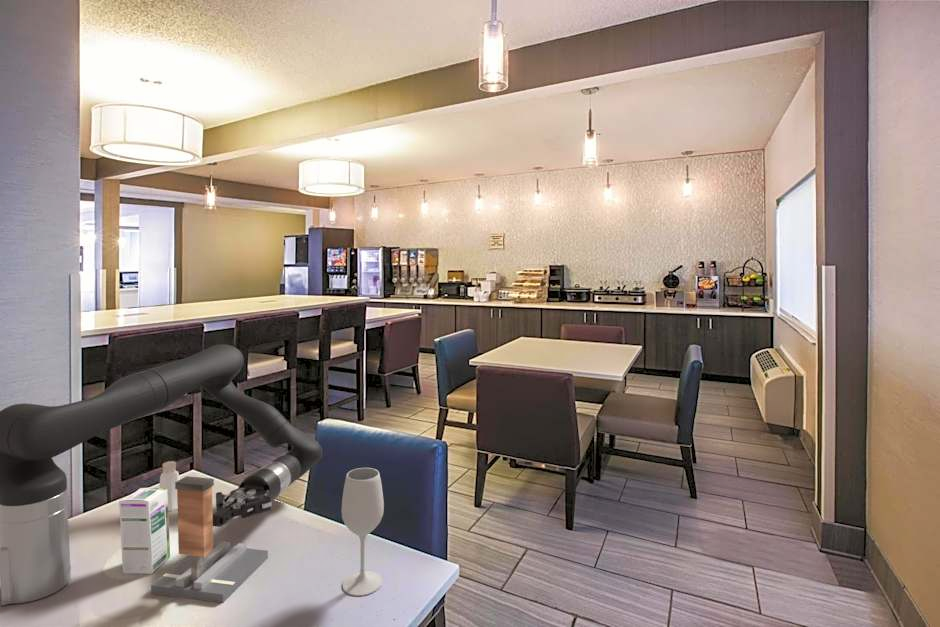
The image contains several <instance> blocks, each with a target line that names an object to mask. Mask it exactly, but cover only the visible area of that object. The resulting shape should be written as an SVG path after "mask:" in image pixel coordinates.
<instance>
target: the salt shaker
mask: <svg viewBox="0 0 940 627" xmlns="http://www.w3.org/2000/svg"><path fill="white" fill-rule="evenodd" d="M176 465H177V462H176V461H175V460H170V461H165V462H163V463H162V472H161V474H160V477H159V487H158V488H164V489H167V495H168V512H172V511H175V510H178V503H177V489H175V482H177V481H179V480H181V479H180V474H179V473H180V472H179V471H178V470H176V468H177V466H176Z"/></svg>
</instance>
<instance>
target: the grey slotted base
mask: <svg viewBox="0 0 940 627" xmlns="http://www.w3.org/2000/svg"><path fill="white" fill-rule="evenodd" d="M268 558H269V551H268V550H265V549H257V548H256V549H255V548H248V547H247V543H240V542H239V543H237V544H236V545H235V546H231V542H230V541H222V542H220V543H219V544H213V550H212V551H211V552H210V553H209V554H207V555H206V556H205V557H202V575H201V576H200V577H199V578H198V579H197V580H196V581H191V555H187V557H185V558H184V559H183V560H182V561H180V562H179V563H177V565H175V566H174V567H173V568H171V569H170V570H169V571H168V572H166V573H164V574H163V575H162V576H161V577H160V578H158V579H157V580H156V581H155V582H153V583H152V584H151V586H150V590H151V592H150V593H151V594H152V595H153V594H155V595H160V596H161V595H162V596H168V597H169V596H170V597H176V598H177V597H178V598H183V599H184V598H185V599H192V600H199V601H200V600H201V601H207V602H214V603H215V602H216V603H222V604H223V603H225V602H226V601H227V599H228V598H230V596H232V594H233V593H235V592H236V590H238V589H239V588H240V586H241V585H243V583H245V581H247V579H248V578H249V577H250V576H251V575H253V573H255V572H256V570H258V568H260V567H261V566H262V565H263V563H264V562H266V560H268Z"/></svg>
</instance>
